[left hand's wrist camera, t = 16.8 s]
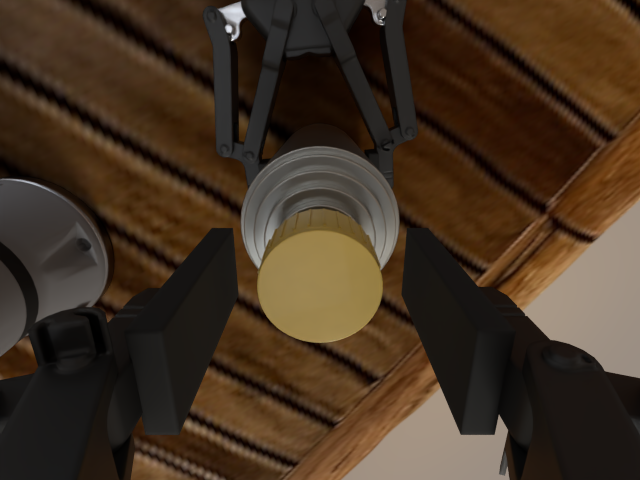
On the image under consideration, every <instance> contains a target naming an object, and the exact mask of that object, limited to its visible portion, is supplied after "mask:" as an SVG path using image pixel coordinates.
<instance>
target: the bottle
mask: <svg viewBox="0 0 640 480" xmlns="http://www.w3.org/2000/svg"><path fill="white" fill-rule="evenodd" d="M323 208H325V209H326V210H332V211H339V213H342V214H344V215H346V216H348V217H349V216H350V217H351V218H352V219H353V220H354V221H355V222H356V223H358V224H359V225H361V226H362V229H363V230H364V231H365V233H366V234H367V235H369V237H370V239H371V242H372V245H373V246H374V249H375V252H376V254H377V257H378V260H379V262H380V265H381V268H380V271H381V269H382V268H383V267H384V266H385V264H386V263H387V261H388V260H389V258H390V256H391V254H392V252H393V250H394V248H395V245H396V242H397V238H398V233H399V210H398V206H397V201H396V199H395V196H394V193H393V191H392V189H391V187H390V185H389V183H388V182H387V180H386V179H385V178H384V176H383V175H382V174H381V173H380V171H379V170H378V169H377V168H376V167H375V166H374V164H373V163H372V162H371V161H370V160H369V159H368V157H367V156H366V155H365V154H364V153H363V152H362V150H361V149H360V148H359V147H358V146H357V145H356V143H355V142H354V141H353V140H352V139H351V138H350V137H349V136H348V134H346V133H345V132H344V131H343V130H341V129H339V128H338V127H335V126H333V125H329V124H323V123H317V124H311V125H307V126H305V127H302V128H301V129H299V130H297V131H296V132H295V133H293V134H292V135H291V137H290V138H289V139H288V140H287V141H286V142H285V143H284V145H283V146H282V147H281V148H280V149H279V150H278V151H277V153H276V154H275V155H274V156H273V157H272V158H271V160H270V161H269V162H268V163H267V164H266V165H265V167H264V168H263V169H262V170H261V171H260V172H259V174H258V175H257V176H256V178H255V179H254V180H253V182H252V183H251V185H250V187H249V189H248V191H247V193H246V195H245V198H244V201H243V205H242V210H241V222H240V223H241V233H242V238H243V242H244V245H245V248H246V251H247V253H248V254H249V256H250V258H251V260H252V261H253V263H254V264H255V266H256V267H257V268H258V269H259V267H260V264H261V262H262V260H261V259H262V257H263V254H264V251H265V249H266V246H267V243H268V241H269V239H270V240H271V238H272V236H273V233H274V231H275V229H278V227H279V226H280V225H281V224H282V223H283V222H284V220H285V219H286V220H287V219H289V218H290V217H292V216H294V215H295V214H296V213H301V212H304V211H308V210H309V209H311V210H313V209H323Z"/></svg>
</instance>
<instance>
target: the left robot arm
mask: <svg viewBox="0 0 640 480" xmlns="http://www.w3.org/2000/svg"><path fill="white" fill-rule="evenodd" d="M113 272H114V254H113V249H112V245H111V242H110V239H109V237H108V234H107V232H106V230H105V228H104V227H103V225H102V223H101V222H100V220H99V219H98V218H97V216H96V215H95V214H94V213H93V212H92V210H91V209H90V208H89V207H88V206H87V205H86V204H85V203H84V202H82V201H81V200H80V199H79V198H77V197H76V196H75V195H73V194H72V193H70V192H69V191H67V190H65V189H63V188H62V187H60V186H58V185H55V184H53V183H50V182H48V181H45V180H41V179H38V178H32V177H25V176H11V177H4V178H0V356H2V355H3V354H4V353H5V352H6V351H8V350H9V349H10V348H11V347H12V346H13V345H15V344H16V343H17V342H19V341H20V340H21V339H22V338H24V337H25V336H27V335H29V338H30V341H31V344H32V347H33V350H34V354H35V357H36V360H37V363H38V368H37V370H36V372H35V373H34V374H29V375H24V376H19V377H14V378H9V379H4V380H0V480H130V479H131V472H132V465H133V459H134V452H135V445H134V439H133V434H132V431H133V429H134V427H135V426H136V424H137V422H138V420H139V419H140V417H141V415H142V420H143V425H144V430H145V435H179V434H180V431H181V429H182V427H183V424H184V422H185V420H186V417H187V415H188V413H189V410H190V408H191V405H192V403H193V401H194V398H195V396H196V394H197V391H198V389H199V387H200V384H201V382H202V379H203V377H204V375H205V372H206V370H207V368H208V365H209V363H210V361H211V358H212V356H213V354H214V351H215V349H216V346H217V344H218V342H219V339H220V337H221V335H222V332H223V330H224V328H225V325H226V323H227V320H228V318H229V316H230V313H231V311H232V309H233V306H234V304H235V302H236V299H237V297H238V284H237V272H236V260H235V248H234V236H233V228H212V229H211V230H210V231H209V232H208V233H207V235H206V236H205V237H204V238H203V239H202V241H201V242H200V243H199V244H198V245H197V246H196V248H195V249H194V250H193V251H192V252H191V253H190V255H189V256H188V257H187V258H186V259H185V260H184V262H183V263H182V264H181V265H180V266H179V267H178V269H177V270H176V271H175V272H174V273H173V274H172V276H171V277H170V278H169V279H168V280H167V281H166V283H165V284H164V285H163V286H162V287H161V288H148V289H146V290H144V291H143V292H141V293H139V294H137V295H135V296H134V297H132V298H131V299H130V301H129V302H128V303H127V304H126V305H125V306H124V307H123V309H121V310H120V311H119V312H118V313H117V314H116V315H115V318H112V319H111V320H110V321H109V322H108V323H107V319H106V314H105V312H104V311H102V310H101V309H99V308H93V307H92V306H93V305H94V304H95V303H96V302H97V301H98V300H100V298H101V297H102V296H103V295H104V294H105V292H106V291H107V289H108V287H109V285H110V283H111V280H112V277H113ZM402 297H403V299H404V302H405V304H406V306H407V309H408V311H409V313H410V316H411V318H412V320H413V323H414V325H415V328H416V330H417V332H418V335H419V337H420V339H421V342H422V344H423V346H424V349H425V351H426V354H427V356H428V358H429V361H430V363H431V365H432V368H433V370H434V372H435V375H436V377H437V379H438V382H439V384H440V387H441V389H442V391H443V394H444V396H445V398H446V401H447V403H448V405H449V408H450V410H451V413H452V415H453V417H454V420H455V422H456V424H457V427H458V429H459V431H460V434H461V435H494V434H495V430H496V425H497V420H498V415H500V417H501V418H502V420H503V422H504V424H505V425H506V427H507V429H508V434H507V439H506V443H505V448H504V452H503V456H502V461H501V465H500V472H499V474H501V475H505V473H506V468H507V466H508V471H509V478H510V480H640V378H635V377H630V376H625V375H620V374H615V373H610V372H605V371H604V369H603V367H602V366H601V365H600V363H599V362H598V361H597V360H596V359H595V358H594V357H593V356H591V355H590V354H588V353H587V352H585V351H584V350H582V349H579V348H577V347H575V346H573V345H570V344H567V343H563V342H559V341H555V340H550V339H549V338H548V337H547V336H546V335H545V334H544V333H543V332H542V331H541V330H540V329H539V328H538V327H537V326H536V325H535V324H534V323H533V322H532V321H531V320H530V319H529V318H528V316H525V314H524V312H523V311H522V310H521V309H520V308H517V305H516V304H515V303H514V302H513V301H512V300H511V299H510V298H509V297H508V296H507V295H505V294H504V293H502V292H500V291H498V290H496V289H495V288H493V287H478V286H477V285H476V284H475V283H474V281H473V280H472V279H471V278H470V277H469V276H468V274H467V273H466V272H465V271H464V270H463V269H462V267H461V266H460V265H459V264H458V263H457V262H456V260H455V259H454V258H453V257H452V256H451V255H450V253H449V252H448V251H447V250H446V249H445V248H444V246H443V245H442V244H441V243H440V242H439V241H438V239H437V238H436V237H435V236H434V235H433V233H432V232H431V231H430V230H429V229H428V228H407V236H406V248H405V260H404V272H403V284H402Z"/></svg>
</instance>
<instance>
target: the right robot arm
mask: <svg viewBox="0 0 640 480" xmlns="http://www.w3.org/2000/svg"><path fill="white" fill-rule="evenodd" d="M405 6H406V0H241V1H240V2H237V3H234V4H232V5H229V6H226V7H223V8H220V9H217V8H216V7H214V6H208V7H206V8H205V9H204V11H203V19H204V22H205V25H206V28H207V31H208V33H209V36H210V39H211V42H212V45H213V65H214V95H215V126H216V150H217V153H218V154H219V155H220V156H222V157H230V158H234V159H237V160H239V161H241V162H242V163H243V165H244V167H245V172H246V179H247V185H248V189H249V187H250V185H251V183H252V182H253V180H254V179H255V178H256V176H257V175H258V174H259V172H260V171H261V170H262V169H263V168H264V167H265V165H266V164H267V163H268V162H269V161H270V160H271V159H263V160H262V155H263V153H262V152H263V148H264V144H265V140H266V136H267V132H268V128H269V124H270V120H271V117H272V113H273V109H274V105H275V101H276V97H277V93H278V89H279V85H280V81H281V77H282V74H283V71H284V68H285V64H286V60H287V59H288V60H298V59H301V58H303V57H306V56H308V55H311V56H316V57H328V56H330V55H331V54H332V55H333V57H334V60H335V62H336V64H337V66H338V68H339V69H340V71H341V73H342V76H343V78H344V80H345V82H346V84H347V86H348V89H349V91H350V93H351V95H352V97H353V99H354V102H355V104H356V106H357V108H358V110H359V113H360V115H361V117H362V119H363V121H364V123H365V126H366V128H367V130H368V132H369V134H370V136H371V139H372V141H373V143H374V149H369V150H365V155H366V156H367V157H368V159H369V160H370V161H371V162H372V163H373V164H374V166H375V167H376V168H377V169H378V170H379V171H380V173H381V174H382V175H383V176H384V178H385V179H386V180H387V182H388V183H389V185H390V187H391V189H392V187H393V151H394V149H395V147H396V146H397V145H399V144H401V143H403V142H405V141H407V140H412V139H414V138H415V137H416V136H417V133H418V128H417V121H416V114H415V108H414V101H413V95H412V88H411V81H410V75H409V68H408V62H407V55H406V48H405V42H404V35H403V28H402V25H403V19H404V13H405ZM362 8H365V9H367V10H368V11H369V12H370V15H371V21H372V24H373V25H374V26H375V27H378V28H380V44H381V50H382V56H383V62H384V67H385V73H386V79H387V85H388V91H389V97H390V102H391V108H392V114H393V120H394V126H393V127H391V128H389V129H388V127H387V125H386V122H385V120H384V118H383V116H382V113H381V111H380V109H379V106H378V104H377V102H376V100H375V97H374V95H373V93H372V91H371V88H370V86H369V84H368V82H367V79H366V77H365V75H364V73H363V70H362V68H361V66H360V64H359V61H358V59H357V56H356V53H355V50H354V48H353V45H352V43H351V41H350V39H349V36H348V33H349V31H350V30H351V28H352V26H353V24H354V22H355V20H356V19H357V17H358V15H359V13H360V11H361V10H362ZM247 20H249V21H250V22H251V23H252V25H253V26H254V27H255V28H256V29H257V31H258V32H259V33H260V34H261V36H262V37H263V38H264V39H265V40H266V42H267V43H266V47H265V51H264V56H263V60H262V69H261V74H260V78H259V82H258V86H257V91H256V95H255V99H254V103H253V108H252V112H251V116H250V120H249V125H248V129H247V133H246V137H245V142H242V141H239V110H238V53H237V47H236V42H238V41H239V40H240V39H241V37H242V25H243V23H244V22H245V21H247Z"/></svg>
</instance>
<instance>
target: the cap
mask: <svg viewBox="0 0 640 480" xmlns="http://www.w3.org/2000/svg"><path fill="white" fill-rule="evenodd" d="M261 260H262V262H261V264H260V267H259V270H258V280H257V292H258V298H259V301H260V304H261V307H262V309H263V311H264V312H265V314H266V316H267V317H268V318H269V320H270V321H271V322H272V323H273V324H274V325H275V326H276V327H277V328H279V329H280V330H281V331H283V332H284V333H286V334H288V335H290V336H292V337H294V338H297V339H300V340H303V341H309V342H319V343H320V342H331V341H336V340H340V339H343V338H346V337H348V336H350V335H352V334H354V333H356V332H357V331H359V330H360V329H361V328H363V327H364V326H365V325H366V324H367V323H368V322H369V321H370V320H371V318H372V317H373V316H374V314H375V312H376V311H377V309H378V306H379V304H380V301H381V298H382V292H383V279H382V274H381V271H380V268H381V265H380V262H379V260H378V257H377V254H376V252H375V249H374V246H373V245H372V242H371V239H370V237H369V235H367V234H366V233H365V231H364V230H363V229H362V226H361V225H359V224H358V223H356V222H355V221H354V220H353V219H352V218H351V217H350V216H349V217H348V216H346V215H344V214H342V213H339V211H332V210H326V209H325V208H323V209H313V210H311V209H309V210H308V211H304V212H301V213H296V214H295V215H294V216H292V217H290V218H289V219H287V220H286V219H285V220H284V222H283V223H282V224H281V225H280V226H279V227H278V229H275V231H274V233H273V236H272V238H271V240H270V239H269V241H268V243H267V246H266V249H265V251H264V254H263V257H262V259H261Z"/></svg>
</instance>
